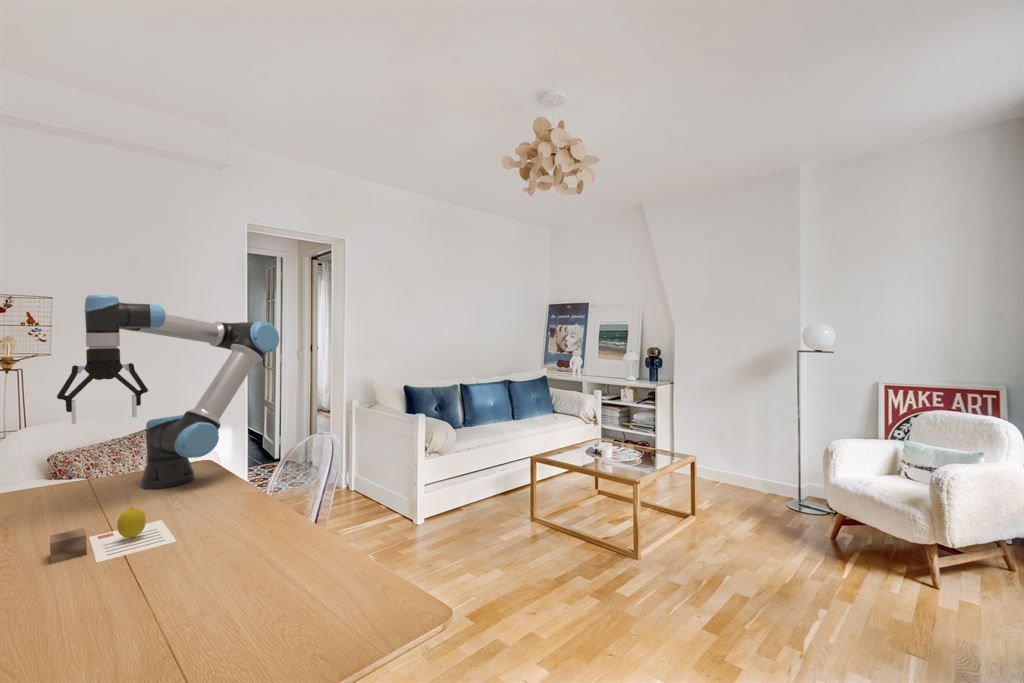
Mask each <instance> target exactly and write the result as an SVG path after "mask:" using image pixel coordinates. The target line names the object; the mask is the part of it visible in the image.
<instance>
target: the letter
mask: <svg viewBox="0 0 1024 683" xmlns="http://www.w3.org/2000/svg"><path fill="white" fill-rule="evenodd" d="M89 542H90V546H91V548H92V551H93V555H94V558H95V559H94V560H95V561H96V563H100V562H104V561H108V560H112V559H115V558H119V557H123V556H127V555H130V554H134V553H138V552H142V551H146V550H149V549H153V548H157V547H160V546H164V545H168V544H172V543H176V542H177V539H176V537H175V536H174V535H173V534H172V533H171V531H170V530H169V528H168V527H167V525H166V524H165V522H164V521H163V520H162V519H160V520H156V521H151V522H148V523H147V522H146V523H145V527H144V529H143V531H142V532H141V533H140V534H138V535H137V536H135V538H134V539H130V538H127V537H123V536H121V535H120V533H119V532H118V529H117V530H113V531H109V532H106V533H101V534H96V535H93V536H92V535H91V536H89Z"/></svg>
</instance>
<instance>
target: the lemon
mask: <svg viewBox="0 0 1024 683" xmlns="http://www.w3.org/2000/svg"><path fill="white" fill-rule="evenodd" d="M146 519H147V518H146V514H145V513H144V511H143V510H141V509H140V508H136V507H133V506H132V507H129V508H128V509H126V510H124V511H123V512H122V513H121V514H120V515H119V517H118V520H117V524H116V525H117V526H116V527H117V530H118V532H119V533H120V535H121V536H123V537H127V538H130V539H134V538H135V536H137V535H138V534H140V533H141V532H142V531H143V529H144V527H145V524H147V522H146Z"/></svg>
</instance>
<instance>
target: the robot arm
mask: <svg viewBox="0 0 1024 683" xmlns="http://www.w3.org/2000/svg"><path fill="white" fill-rule="evenodd" d="M84 301H85V302H84V316H85V317H84V318H85V321H84V322H85V346H86V347H87V349H86V353H85V354H86V364H85V366H84V365H76V364H75V365H72V367H71V373H70V374H69V376H68V378H67V379H66V381H65V383H64V384H63V385H62V387H61V389H60V390H59V391H58V393H57V395H56V398H57V400H63V401H65V410H66V412H67V413H71V424H72V425H76V424H77V416H76V415H77V414H76V413H77V412H76V408H77V407H76V400H75V399H74V398H75V397H76V396H77V395H78V394H80V393H81V391H82V390H83V389H84V388H85V387H86V386H87V385H88V384H90V383H91V382H92V380H97V381H101V380H113V379H117V380H118V381H119V382H120V383H121V384H122V385H124V387H125V388H127V389H128V390H130V391H131V392H133V394H132V395H131V411H132V412H131V414H132V415H131V416H132V418H137V417H138V412H137V410H138V408H137V407H139V406H141V405H142V397H141V396H142V395H143V394H146V393H148V392H149V388H148V387H147V386H146V385H145V383H144V382H143V380H142V379H141V377H140V376H139V374H138V373H137V371H136V370H135V365H134V363H132V362H129V363H124V364H122V363H121V349H120V348H118V347H120V345H121V344H120V343H121V342H120V340H121V339H120V332H121V331H120V330H125V331H129V332H130V331H131V332H139V333H145V334H151V335H158V336H163V337H170V338H176V339H183V340H188V341H195V342H201V343H202V342H203V343H208V344H209V345H210V346H211V347H215V348H222V349H226V350H229V351H231V353H230V354H229V356H228V357H227V359H226V361H225V362H224V363H223V364H222V366H221V368H220V369H219V371H217V372H218V373H217V374H216V375H215V377H214V378H213V380H212V381H211V383H210V384H209V385H208V387H207V389H206V390H205V392H204V393H203V395H202V396H201V397H200V399H199V400H198V402H197V404H196V405H195V407H194V408H192V409H189V410H186V411H185V412H184V414H181V415H174V416H166V417H160V418H153V419H148V421H147V422H146V426H145V435H146V436H145V442H146V466H145V468H144V471H143V474H142V477H141V479H140V480H141V481H140V484H141V485H140V486H141V488H142V489H146V490H147V489H148V490H153V489H154V490H155V489H157V490H158V489H166V488H171V487H177V486H181V485H183V484H184V485H185V484H187V483H189V482H191V481H194V479H195V471H194V468H193V466H192V465H191V462H190V459H191V458H196V459H197V458H202V457H204V456H206V455H208V454H210V453H211V452H212V451H213V450H214V449H215V447H216V446H217V445H218V442H219V440H220V436H219V433H220V432H219V429H220V428H221V426H222V424H221V422H220V420H221V417H222V416H223V414H224V413H225V410H226V409H227V408H228V406H229V405H230V403H231V402H232V401H233V399H234V397H235V396H236V393H238V391H239V389H240V387H241V386H242V385H243V382H245V379H247V378H246V377H247V376H248V375H249V373H250V371H251V370H252V368H253V366H254V365H255V364H256V363H260V362H262V360H263V359H264V357H265V356H266V355H267V353H271V352H274V351H275V350H276V349H277V347H278V346H279V343H280V335H279V332H278V330H277V328H276V327H275V326H274V325H273V324H271V323H270V322H267V321H261V320H259V321H258V320H257V321H253V322H252V321H248V322H244V321H243V322H222V321H214V322H208V321H202V320H197V319H192V318H187V317H181V316H177V315H171V314H166V311H165V309H164V307H163V306H162V305H160V304H152V303H127V302H120V300H119V297H118V296H116V295H109V294H89V295H87V296H86V297H85V300H84ZM123 369H125V371H126V372H128V373H129V374H130V376H131V377H132V378H133V379H134V381H135V383H136V384H137V386H138V387H139V389H137V388H136V387H135V386H134V385H133V384H132V383H130V382H129V381H128V380H127V379H125V377H123V375H121V374H120V372H121V370H123ZM82 371H85V372H86V373H87V374H88V375H87V376H86V377H85V378H84V379H83V380H82V381H81V382H80V383H79V384H77V386H76V387H75V388H73V390H72V391H70V393H69V394H68V395H66V393H67V392H68V390H69V389H70V388H71V386H72V384H73V382H74V380H75V379H76V377H77V376H78V374H81V373H82Z"/></svg>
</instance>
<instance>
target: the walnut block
mask: <svg viewBox="0 0 1024 683" xmlns="http://www.w3.org/2000/svg"><path fill="white" fill-rule="evenodd" d="M87 546H88V545H87V533H86V529H85V527H82V528H78V529H73V530H69V531H66V532H60V533H56V534H51V535H49V553H50V554H49V556H50V565H52V564H56V563H60V562H64V561H68V560H72V559H75V558H79V557H84V556H87V554H88V551H87V550H88V549H87V548H88V547H87Z"/></svg>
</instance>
